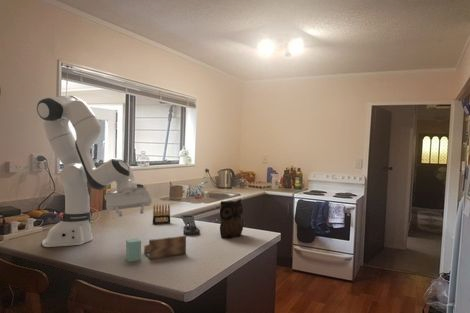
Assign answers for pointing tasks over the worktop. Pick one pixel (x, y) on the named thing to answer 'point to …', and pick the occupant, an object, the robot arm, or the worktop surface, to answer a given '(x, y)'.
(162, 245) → the board
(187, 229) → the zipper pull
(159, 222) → the ammunition clip
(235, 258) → the worktop surface
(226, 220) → the owl
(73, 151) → the robot arm
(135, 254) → the cabinet block
